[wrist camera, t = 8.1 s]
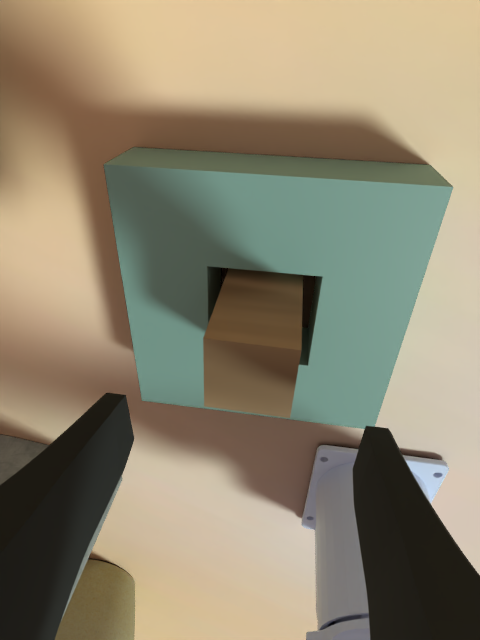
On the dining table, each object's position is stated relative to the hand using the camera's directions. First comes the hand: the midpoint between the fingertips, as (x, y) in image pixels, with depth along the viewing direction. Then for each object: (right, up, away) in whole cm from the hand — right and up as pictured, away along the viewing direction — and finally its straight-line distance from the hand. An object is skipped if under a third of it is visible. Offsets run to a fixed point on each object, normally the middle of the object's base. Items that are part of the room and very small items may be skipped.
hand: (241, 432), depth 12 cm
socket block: (+1, +5, +7) cm, 9 cm away
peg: (+1, +5, +7) cm, 9 cm away
